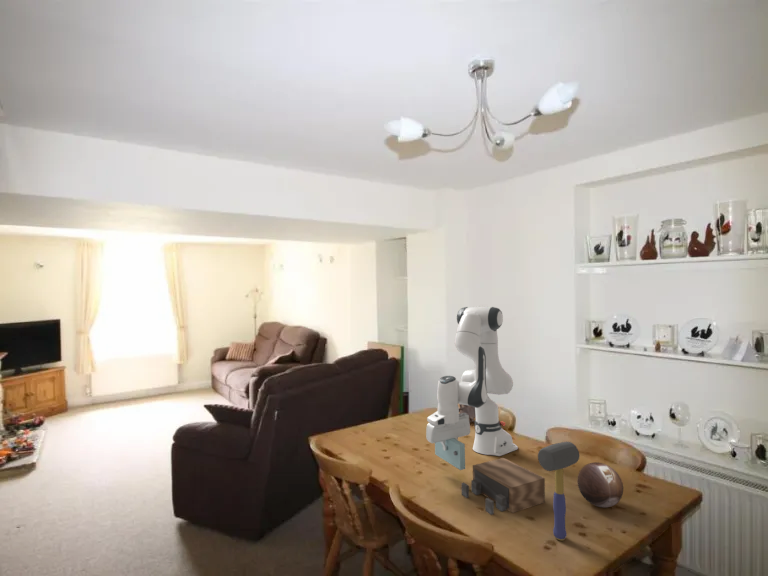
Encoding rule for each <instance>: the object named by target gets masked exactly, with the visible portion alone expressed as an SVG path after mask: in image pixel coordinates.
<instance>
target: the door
mask: <svg viewBox="0 0 768 576" xmlns="http://www.w3.org/2000/svg"><path fill="white" fill-rule="evenodd" d="M445 445H447V446H448V450H446V451H444V450H443V445H442V444H441V442H436V443H434V455H436V456H437V457H439V458H440V459H442V460H443V461H445V462H446V463H448V464H450V465H451V466H452V467H455V468H456V469H458V470H460V471H462V470H465V469H466V449H465V447H466V446H465V445H466V444H465V443H463V442H462V441H459V439H458V440H456V439H454V438H453V439H449V440H446V443H445Z"/></svg>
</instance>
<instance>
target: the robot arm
mask: <svg viewBox="0 0 768 576" xmlns="http://www.w3.org/2000/svg"><path fill="white" fill-rule="evenodd" d="M456 322H457V328H456V333H455V337H454V346H455V348H456V350H457V351H458V352H460V354H461V355H463V356H465V357H467V358H469V359H470V360H472V361H473V362H474V369H465V370H464V372H463V373H462V374H461V378H460V380H458V379H457V378H456V376H453V375H445V376H442V377H439V379H438V381H437V390H436V398H437V410H436V411H435V412H433V413H432V414H430V415H429V416H428V417H426V420H427V422H428V423H427V424H426V428H425V429H426V430H425V431H426V432H425V436H426V437H425V438H426V441H428V442H429V443H431V444H435V443H436V442H441V444H442V445H443V450H444V451H446V450H448V446H447V445H445V443H446V440H449V439H453V438H454V439H456V440H458V441H459V439H458V438H461V437H465V436H466V437H467V436H469V435H470V434H471V425H470V423H469V415H468V414H466V413H462V414H460V412H459V408H460V406H459V405H460V404H463V405H469V406H472V407H475V415H476V417H475V419H474V431H475V432H474V442H473V444H472V445H473V446H472V450H473V451H474V452H476V453H478V454H482V455H486V456H487V455H488V456H497V457H501V456H504V455H506V454H508V453H512V452H514V451H516V450H518V449H519V446H517V444H515V443H513V442H514V441H513V437H512V435H511V434H510V433H509V432H507V431H506V430H504V428H502V427H505V426H506V422H505V421H500V420H499V406H498V404H497V403H496V401H494V400H493V399H491V398H490V396H489V395H488V394H490V395H491V394H492V395H498V396H499V395H508V394H510V393H511V391H512V390H513V387H514V382H513V381H514V379H513V378H512V376H511V375H510V374H509V373H508V372H507V371H506V370H505V369H504V367H503V366H502V364H501V361H500V359H499V347H498V346H499V342H498V341H499V340H498V339H499V338H498V329H500V328H501V326H502V324H503V322H504V316H503V311H501V309H500V308H498V307H495V306H491V307H489V306H483V305H482V306H480V305H479V306H470V307H468V306H465V307H462V308H460V309H459V310H458V311H457V314H456Z"/></svg>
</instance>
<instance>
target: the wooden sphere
mask: <svg viewBox="0 0 768 576" xmlns="http://www.w3.org/2000/svg"><path fill="white" fill-rule="evenodd" d="M576 481H577V486H578V487H577V488H578V490H579V492H580V494H581V496H582V497H583V498H584V499H585V500H586V501H587V502H588V503H590V504H591V505H593V506H596V507H599V508H610V507H613V506H615V505H617V504H618V503H619V502H620V501H621V499H622V497H623V495H624V494H623V493H624V483H623V481H622V478H621V476H620V475H619V473H618V472H617V471H616V470H615V469H614V468H613V467H611V466H610V465H608V464H606V463H603V462H599V461H598V462H590V463H588V464H585V465H584V466H582V468H581V469H580V470H579V473H578V474H577V479H576Z"/></svg>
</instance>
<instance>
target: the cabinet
mask: <svg viewBox="0 0 768 576" xmlns="http://www.w3.org/2000/svg"><path fill="white" fill-rule="evenodd" d="M545 479H546V478H545V477H544V476H541V475H540V474H537V473H535V472H534V471H531V470H529V469H528V468H525V467H523V466H520V465H519V464H517V463H515V462H514V461H512V460H511V461H510V460H509V459H507V458H504V457H501V458H498V459H497V458H496V459H493V460H489V461H486V462H481V463H477V464H473V465H472V479H471V480H470V481H471V482H470V483H471V487H469V486H470V485H469V484H467V483H465V482H461V496H463V497H464V498H466V499H468V498H470V488H471V493H472V494H474V495H475V496H478V495H483V496H485V497H486V498H484V499H485V501H484V502H485V505H484V507H485V512H486V513H487V514H489V515H490V516H492V515H494V514H495V511H494V510H495V509H497V510H498V511H500V512H505V511H509V512H510V513H512V514H513V513H516V512H519V511H523V510H525V509H527V508H532V507H534V506H537V505H541V504H544V503H546V489H545V488H546V485H545V484H546V483H545V481H546V480H545ZM494 502H495V503H494ZM494 504H495V507H494Z"/></svg>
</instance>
